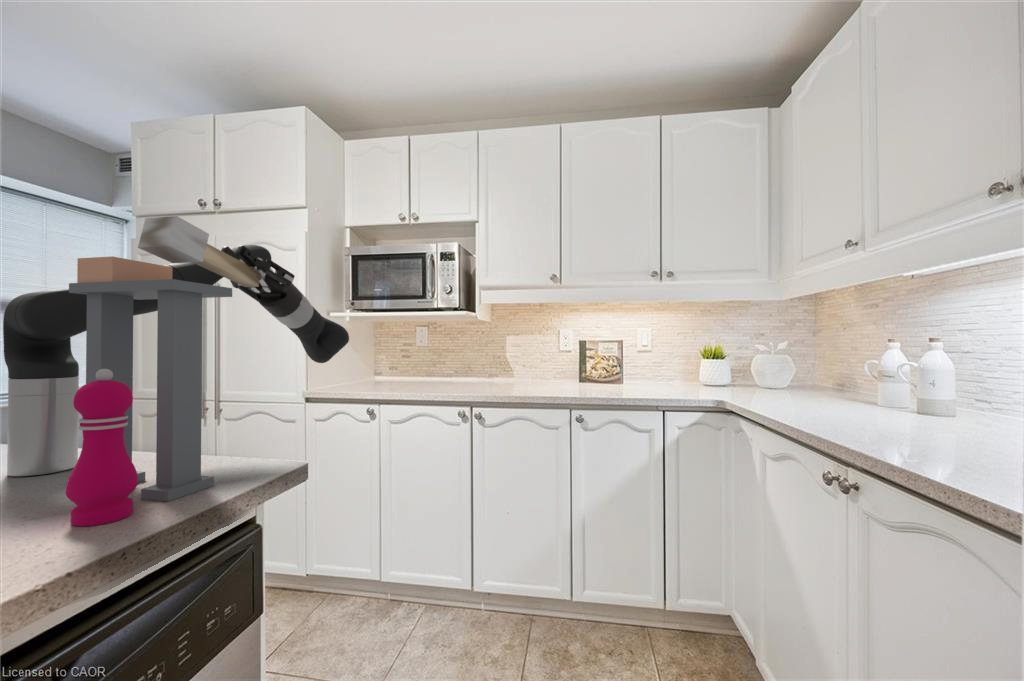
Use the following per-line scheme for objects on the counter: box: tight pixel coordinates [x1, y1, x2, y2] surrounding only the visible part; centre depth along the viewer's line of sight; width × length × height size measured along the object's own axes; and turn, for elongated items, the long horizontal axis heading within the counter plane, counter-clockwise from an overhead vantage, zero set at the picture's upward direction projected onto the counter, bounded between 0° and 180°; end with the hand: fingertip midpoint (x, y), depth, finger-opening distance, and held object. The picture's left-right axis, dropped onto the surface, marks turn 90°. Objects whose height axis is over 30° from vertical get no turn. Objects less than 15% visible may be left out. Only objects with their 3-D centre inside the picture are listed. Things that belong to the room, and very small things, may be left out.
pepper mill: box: [65, 369, 139, 528], centre depth 62 cm, size 7×7×20 cm
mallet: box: [137, 215, 260, 287], centre depth 80 cm, size 6×20×5 cm, turn 168°
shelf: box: [68, 279, 233, 502], centre depth 76 cm, size 20×11×33 cm, turn 78°
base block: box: [76, 255, 172, 283], centre depth 77 cm, size 7×10×4 cm
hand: (231, 249), depth 85 cm, fingers closed on mallet, 3 cm apart
